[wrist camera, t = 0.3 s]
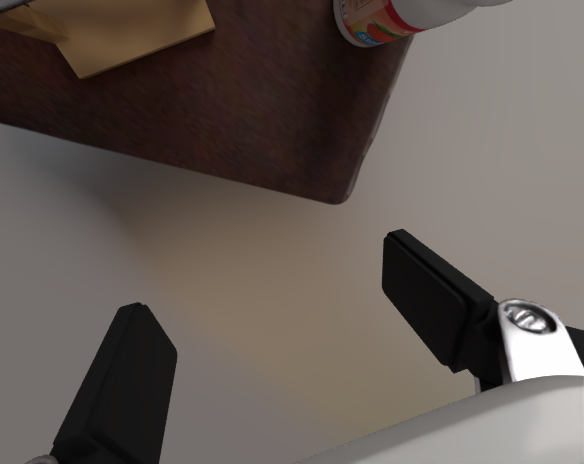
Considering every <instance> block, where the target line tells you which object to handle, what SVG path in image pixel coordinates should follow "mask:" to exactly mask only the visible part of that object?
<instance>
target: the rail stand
mask: <svg viewBox="0 0 584 464" xmlns="http://www.w3.org/2000/svg"><path fill="white" fill-rule="evenodd" d="M25 4H28V5H29V6H30V8H29V7H27V6H25ZM0 28H2V29H5V30H9V31H12V32H16V33H19V34H23V35H26V36H30V37H33V38H36V39H40V40H43V41H47V42H50V43H54V44H56V45H57V47H58V48H59V50H60V51H61V53H62V54H63V56H64V57H65V59H66V60H67V61H68V63H69V64H70V66H71V67H72V69H73V70H74V72H75V73H76V75H77V76H78V78H79V79H87V78H90V77H92V76H95V75H97V74H100V73H103V72H105V71H108V70H110V69H113V68H116V67H118V66H121V65H123V64H126V63H129V62H131V61H134V60H137V59H139V58H142V57H144V56H147V55H150V54H152V53H155V52H157V51H160V50H163V49H165V48H168V47H170V46H173V45H176V44H178V43H181V42H183V41H186V40H189V39H191V38H194V37H196V36H199V35H202V34H204V33H207V32H209V31H212V30H215V25H214V22H213V20H212V17H211V14H210V12H209V9H208V7H207V4H206V1H205V0H0Z"/></svg>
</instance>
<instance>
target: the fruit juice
mask: <svg viewBox="0 0 584 464" xmlns="http://www.w3.org/2000/svg"><path fill="white" fill-rule="evenodd" d="M510 1H512V0H333V9H334V16H335V20H336V23H337V26H338V28H339V30H340V32H341V34H342V35H343V36H344V38H345V39H346V40H347V41H349V42H350V43H352V44H353V45H356V46H359V47H373V46H377V45H380V44H383V43H386V42H389V41H393V40H396V39H399V38H402V37H406V36H409V35H412V34H415V33H418V32H422V31H425V30H428V29H432V28H436V27H438V26H442V25H444V24H447V23H449V22H452V21H454V20H456V19H458V18H460V17H462V16H464V15H466V14H468V13H469V12H471V11H472V10H473V9H475V8H476V7H477V6H481V7H484V6H496V5H500V4H504V3H507V2H510Z"/></svg>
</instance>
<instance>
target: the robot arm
mask: <svg viewBox="0 0 584 464" xmlns="http://www.w3.org/2000/svg"><path fill="white" fill-rule="evenodd" d="M382 289H383V291H384V293H385V295H386V296H387V297H388V298H389V300H390V301H391V302H392V303H393V305H394V306H395V307H396V308H397V310H398V311H399V312H400V313H401V315H402V316H403V317H404V318H405V320H406V321H407V322H408V323H409V324H410V326H411V327H412V328H413V330H414V331H415V332H416V333H417V335H418V336H419V337H420V338H421V339H422V341H423V342H424V343H425V344H426V346H427V347H428V348H429V349H430V351H431V352H432V353H433V354H434V356H435V357H436V358H437V359H438V361H439V362H440V363H441V364H443V365H445V366H448V367H449V368H450V369H451V371H452V372H453V373H457V372H460V371H462V370H465V369H468V370H469V371H470V372H471V374H472V375H473V376H474V381H475V391H476V395H473V396H470V397H468V398H465V399H462V400H459V401H456V402H453V403H451V404H448V405H446V406H443V407H440V408H438V409H435V410H432V411H430V412H427V413H424V414H422V415H419V416H416V417H414V418H411V419H409V420H406V421H403V422H400V423H398V424H395V425H393V426H390V427H387V428H385V429H382V430H379V431H377V432H374V433H372V434H369V435H367V436H364V437H361V438H358V439H356V440H353V441H351V442H348V443H345V444H343V445H340V446H337V447H335V448H332V449H330V450H327V451H324V452H322V453H320V454H317V455H314V456H311V457H309V458H307V459H304V460H301V461H298V462H296V463H293V464H584V330H579V329H576V328H572V327H568V326H564V324H563V322H562V321H561V320H560V318H559V317H558V316H557V315H556V314H554V313H553V312H552V311H550V310H549V309H547V308H545V307H544V306H542V305H539V304H537V303H534V302H532V301H528V300H524V299H506V300H504V301H502V302H500V304H499V303H498V302H496V301H495V300H494V297H493V296H492V295H490V294H489V293H488V292H486V291H485V290H484V289H482V288H481V287H480V286H479V285H477V284H476V283H474V282H473V281H472V280H471V279H469V278H468V277H466V276H465V275H464V274H463V273H461V272H460V271H459V270H457V269H456V268H454V267H453V266H452V265H450V264H449V263H448V262H447V261H445V260H444V259H443V258H441V257H440V256H439V255H437V254H436V253H435V252H433V251H432V250H431V249H429V248H428V247H427V246H425V245H424V244H423V243H421V242H420V241H419V240H417V239H416V238H415V237H413V236H412V235H411V234H410V233H408V232H407V231H405V230H404V229H400V230H396V231H392V232H389V233H388V234H387V237H385V238H384V244H383V268H382ZM176 363H177V351H176V348H175V347H174V345H173V344H172V342H171V341H170V339H169V338H168V336H167V335H166V333H165V332H164V330H163V329H162V327H161V326H160V324H159V323H158V321H157V320H156V318H155V317H154V315H153V313H152V312H151V310H150V309H149V307H148V306H147V305H142V304H141V303H139V302H137V303H133V304H129V305H126V306H122V307H120V308H119V309H118V311H117V313H116V315H115V317H114V319H113V321H112V323H111V325H110V327H109V329H108V331H107V333H106V336H105V337H104V339H103V341H102V344H101V346H100V348H99V350H98V352H97V354H96V356H95V358H94V360H93V362H92V364H91V366H90V368H89V370H88V372H87V375H86V376H85V378H84V380H83V382H82V385H81V387H80V389H79V391H78V393H77V395H76V397H75V399H74V401H73V403H72V405H71V407H70V409H69V411H68V413H67V415H66V417H65V420H64V421H63V424H62V425H61V427H60V429H59V432H58V434H57V436H56V438H55V440H54V442H53V445H54V446H53V448H52V450H51V452H50V454H49V455H43V456H39V457H36V458H34V459H32V460H30V461H28V462H26V463H25V464H159V459H160V454H161V448H162V443H163V437H164V431H165V425H166V420H167V414H168V408H169V402H170V396H171V391H172V385H173V380H174V374H175V368H176Z"/></svg>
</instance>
